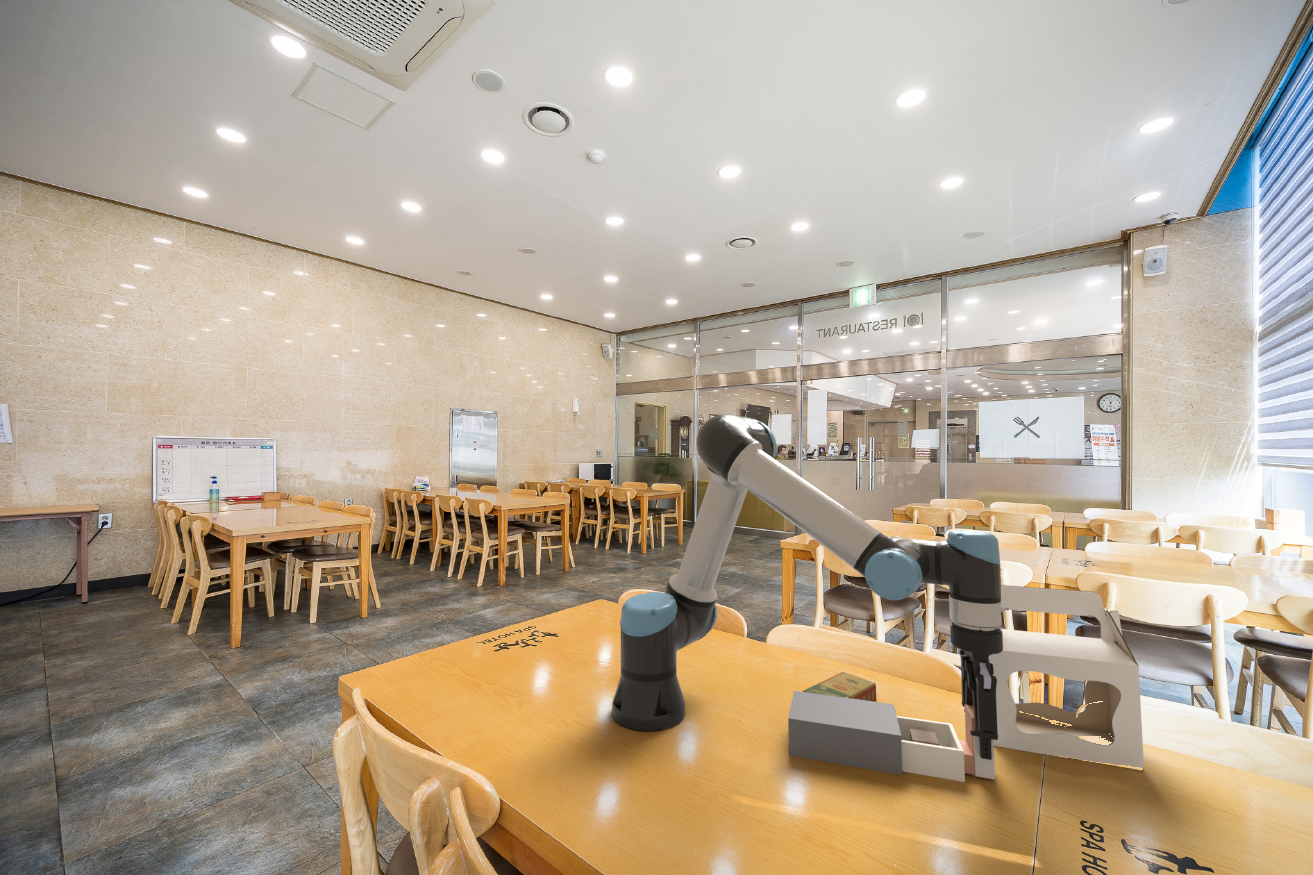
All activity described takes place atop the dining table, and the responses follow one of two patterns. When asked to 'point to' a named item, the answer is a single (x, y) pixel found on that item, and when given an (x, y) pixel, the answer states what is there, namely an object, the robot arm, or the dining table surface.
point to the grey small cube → (923, 737)
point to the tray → (938, 749)
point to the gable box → (1071, 659)
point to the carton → (846, 687)
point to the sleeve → (845, 732)
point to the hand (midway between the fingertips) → (980, 766)
